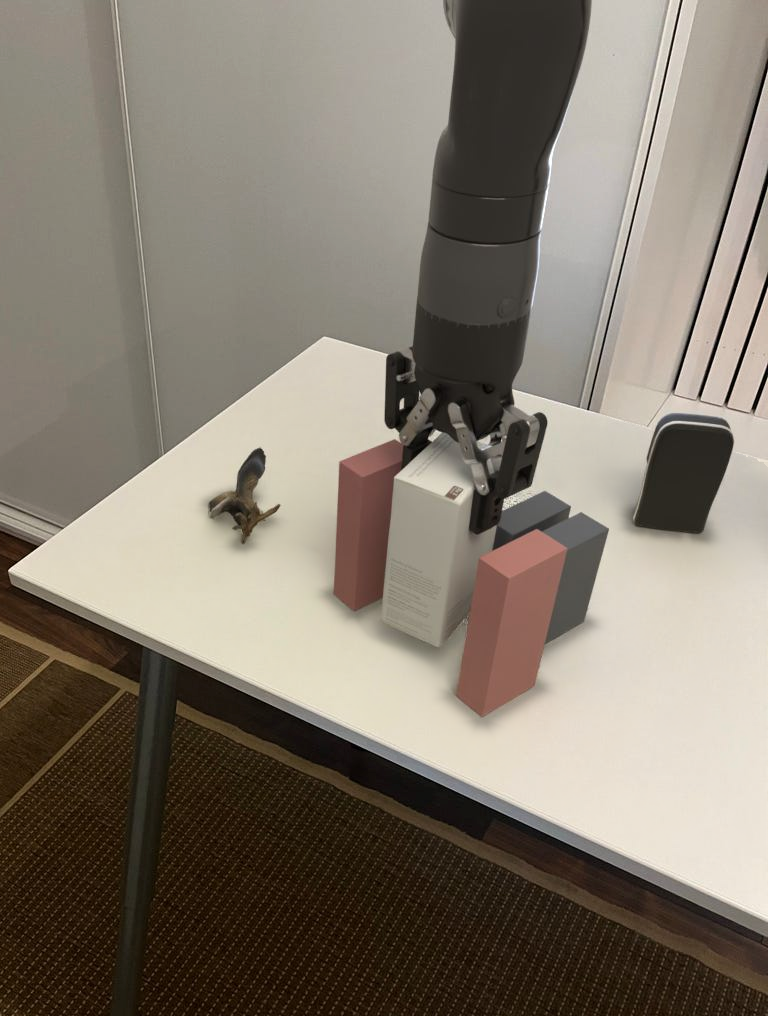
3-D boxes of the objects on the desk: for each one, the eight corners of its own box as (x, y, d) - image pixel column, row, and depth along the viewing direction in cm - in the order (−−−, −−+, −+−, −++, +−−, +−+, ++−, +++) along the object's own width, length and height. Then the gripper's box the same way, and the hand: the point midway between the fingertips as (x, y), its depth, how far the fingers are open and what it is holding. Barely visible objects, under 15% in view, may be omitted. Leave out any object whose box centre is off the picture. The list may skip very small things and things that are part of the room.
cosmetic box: (426, 574, 86) (443, 424, 76) (488, 599, 83) (514, 447, 73) (376, 625, 81) (388, 472, 71) (441, 654, 78) (462, 498, 68)
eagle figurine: (301, 528, 94) (282, 465, 99) (263, 487, 88) (244, 423, 94) (236, 566, 96) (220, 502, 101) (195, 528, 91) (181, 463, 96)
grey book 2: (558, 604, 87) (581, 511, 81) (584, 621, 85) (609, 528, 79) (503, 634, 84) (521, 541, 77) (528, 653, 82) (550, 559, 76)
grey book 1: (525, 581, 90) (544, 490, 83) (550, 598, 88) (571, 506, 81) (470, 610, 87) (486, 517, 80) (495, 628, 85) (512, 535, 78)
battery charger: (700, 514, 98) (735, 412, 90) (704, 536, 95) (741, 432, 87) (629, 506, 99) (657, 404, 91) (631, 527, 96) (661, 424, 88)
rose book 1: (383, 570, 91) (395, 438, 81) (404, 586, 89) (418, 453, 80) (333, 594, 88) (338, 461, 79) (354, 611, 86) (362, 477, 77)
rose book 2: (508, 665, 81) (537, 528, 72) (534, 686, 79) (567, 548, 70) (455, 695, 79) (478, 557, 69) (481, 717, 77) (509, 578, 67)
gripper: (598, 318, 61) (550, 534, 72) (442, 250, 70) (420, 452, 81) (514, 350, 58) (478, 570, 69) (361, 274, 66) (350, 481, 77)
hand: (447, 506), depth 75 cm, fingers closed on cosmetic box, 7 cm apart
